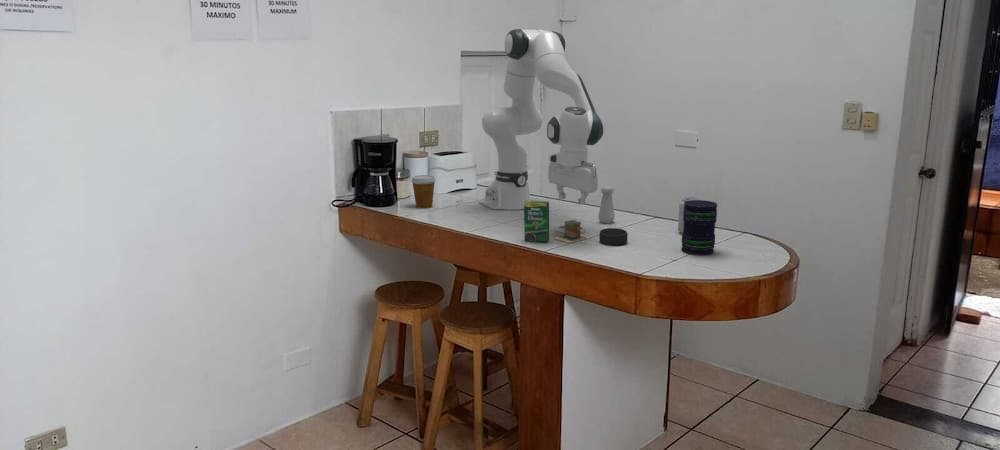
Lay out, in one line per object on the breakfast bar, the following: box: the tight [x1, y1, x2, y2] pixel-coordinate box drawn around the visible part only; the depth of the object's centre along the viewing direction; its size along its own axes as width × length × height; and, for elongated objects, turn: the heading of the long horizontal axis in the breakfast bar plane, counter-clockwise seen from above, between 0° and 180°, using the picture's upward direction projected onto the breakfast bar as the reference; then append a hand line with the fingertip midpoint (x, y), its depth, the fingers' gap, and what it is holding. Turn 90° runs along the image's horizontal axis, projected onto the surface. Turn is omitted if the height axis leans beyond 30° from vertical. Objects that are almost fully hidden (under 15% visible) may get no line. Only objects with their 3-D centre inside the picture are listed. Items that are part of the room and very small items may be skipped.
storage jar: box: [681, 199, 718, 256], centre depth 216 cm, size 10×10×15 cm
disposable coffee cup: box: [411, 174, 436, 209], centre depth 281 cm, size 10×10×12 cm
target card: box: [553, 233, 592, 244], centre depth 233 cm, size 7×10×1 cm
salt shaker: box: [598, 185, 616, 225], centre depth 254 cm, size 6×6×13 cm
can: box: [677, 196, 702, 235], centre depth 238 cm, size 8×8×12 cm
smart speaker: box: [598, 227, 629, 247], centre depth 228 cm, size 9×9×4 cm
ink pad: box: [556, 224, 586, 234], centre depth 242 cm, size 8×6×2 cm
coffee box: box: [523, 200, 550, 244], centre depth 229 cm, size 8×3×13 cm, turn 67°
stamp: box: [563, 219, 582, 240], centre depth 232 cm, size 4×4×5 cm
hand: (571, 201), depth 231 cm, fingers open, 8 cm apart
